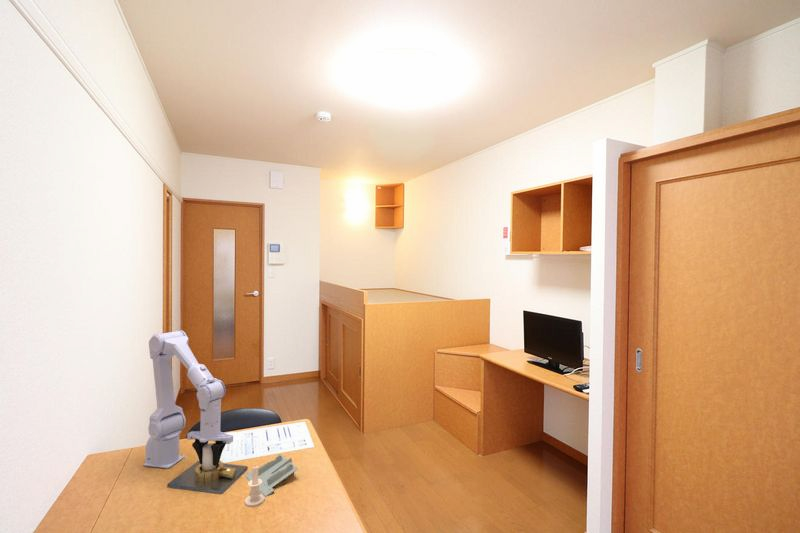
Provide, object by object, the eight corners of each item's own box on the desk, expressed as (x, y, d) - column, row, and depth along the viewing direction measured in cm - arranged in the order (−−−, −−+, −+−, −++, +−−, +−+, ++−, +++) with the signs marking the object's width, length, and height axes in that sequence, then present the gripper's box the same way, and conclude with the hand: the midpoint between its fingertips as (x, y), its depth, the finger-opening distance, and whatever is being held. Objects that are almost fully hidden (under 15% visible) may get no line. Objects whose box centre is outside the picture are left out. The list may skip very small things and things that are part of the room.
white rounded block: (199, 473, 120) (199, 448, 120) (207, 467, 124) (208, 442, 124) (210, 475, 119) (211, 449, 119) (218, 468, 123) (219, 443, 123)
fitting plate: (167, 487, 116) (167, 474, 116) (198, 463, 130) (198, 452, 130) (221, 494, 113) (222, 481, 113) (247, 469, 127) (247, 457, 127)
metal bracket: (280, 447, 132) (302, 464, 121) (284, 461, 133) (306, 479, 122) (239, 473, 122) (259, 494, 111) (244, 488, 123) (264, 511, 113)
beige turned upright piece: (241, 501, 110) (242, 465, 110) (257, 493, 114) (258, 458, 114) (251, 509, 107) (252, 471, 107) (267, 500, 111) (268, 464, 111)
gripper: (180, 423, 119) (179, 467, 119) (224, 427, 116) (223, 472, 117) (196, 414, 126) (195, 456, 126) (237, 418, 123) (236, 460, 123)
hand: (209, 463), depth 122 cm, fingers closed on white rounded block, 4 cm apart
